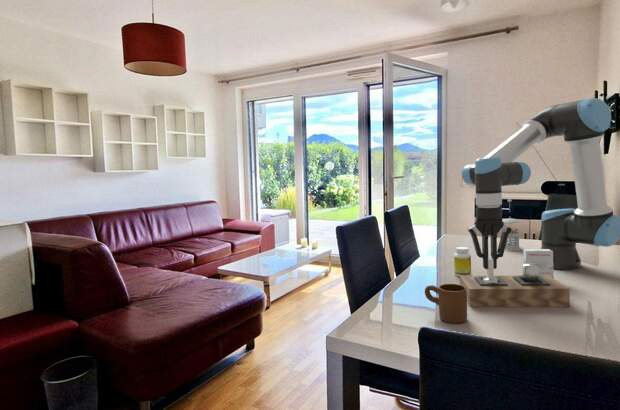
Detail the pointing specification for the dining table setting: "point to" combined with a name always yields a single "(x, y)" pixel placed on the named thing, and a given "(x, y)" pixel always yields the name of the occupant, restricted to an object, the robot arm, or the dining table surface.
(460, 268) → the pill bottle
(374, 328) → the dining table surface
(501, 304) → the block
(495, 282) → the peg
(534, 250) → the ink box
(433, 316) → the dining table surface
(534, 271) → the peg
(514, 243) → the french press
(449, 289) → the mug
